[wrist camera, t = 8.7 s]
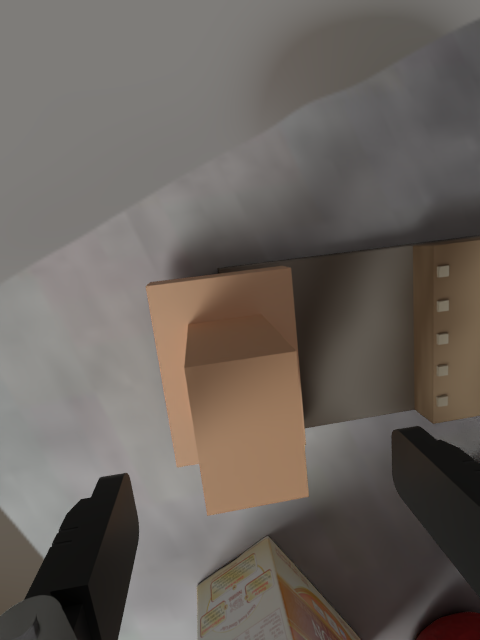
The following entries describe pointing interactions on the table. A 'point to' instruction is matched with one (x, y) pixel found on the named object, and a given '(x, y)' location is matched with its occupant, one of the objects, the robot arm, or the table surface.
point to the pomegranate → (453, 627)
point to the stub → (233, 384)
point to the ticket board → (388, 331)
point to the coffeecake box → (265, 601)
